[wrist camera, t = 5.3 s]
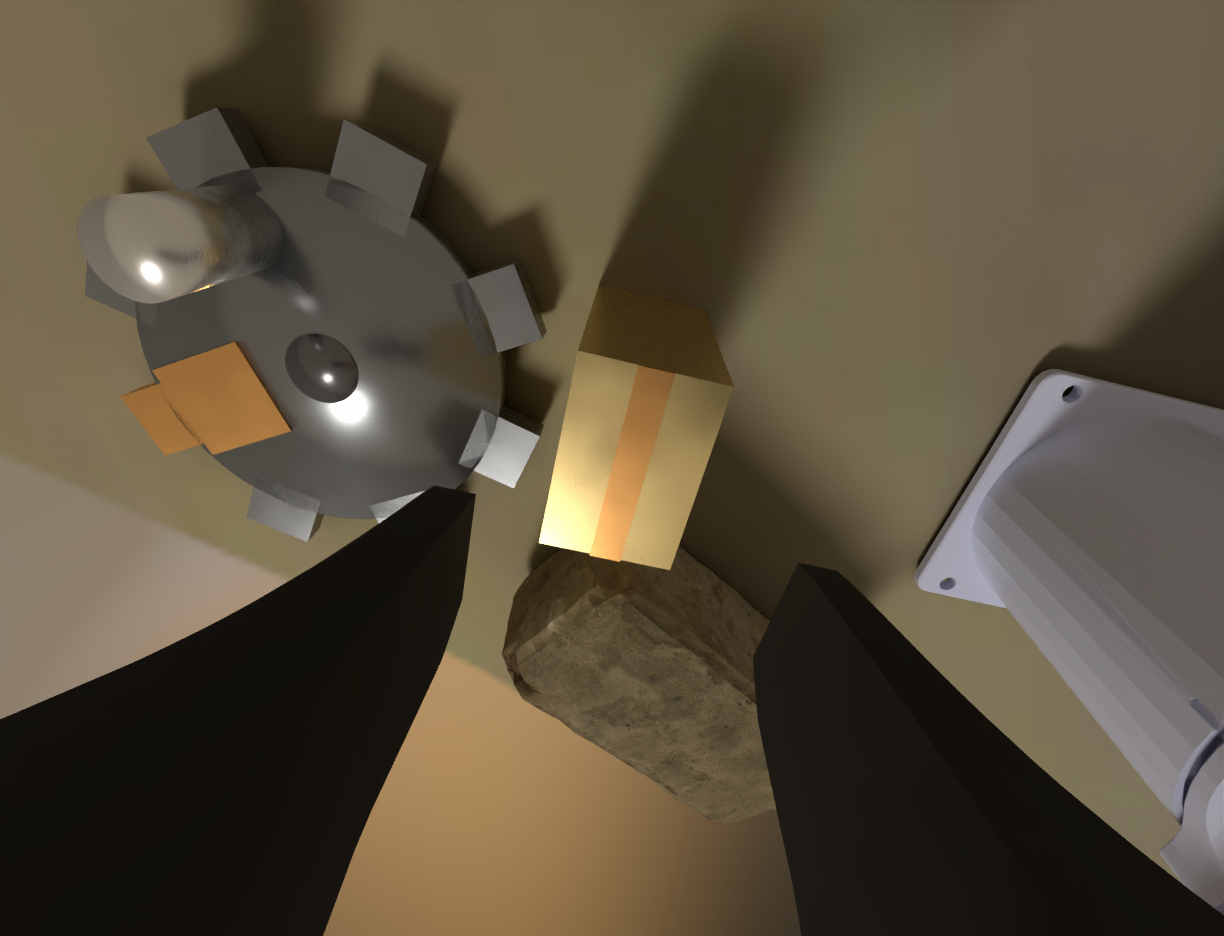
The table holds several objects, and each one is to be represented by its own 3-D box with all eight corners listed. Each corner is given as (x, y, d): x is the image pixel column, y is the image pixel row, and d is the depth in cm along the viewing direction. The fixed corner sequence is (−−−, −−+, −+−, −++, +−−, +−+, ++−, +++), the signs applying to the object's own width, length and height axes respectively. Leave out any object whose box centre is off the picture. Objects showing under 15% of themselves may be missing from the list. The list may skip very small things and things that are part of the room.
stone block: (615, 480, 19) (608, 579, 15) (833, 656, 23) (880, 778, 18) (508, 579, 21) (475, 691, 17) (721, 725, 25) (740, 849, 20)
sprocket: (431, 25, 13) (344, -26, 9) (604, 485, 19) (594, 573, 15) (9, 208, 15) (-204, 227, 11) (275, 569, 21) (192, 664, 17)
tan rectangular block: (704, 309, 16) (734, 387, 11) (661, 449, 18) (669, 572, 13) (599, 283, 16) (577, 350, 11) (568, 428, 18) (538, 544, 13)
